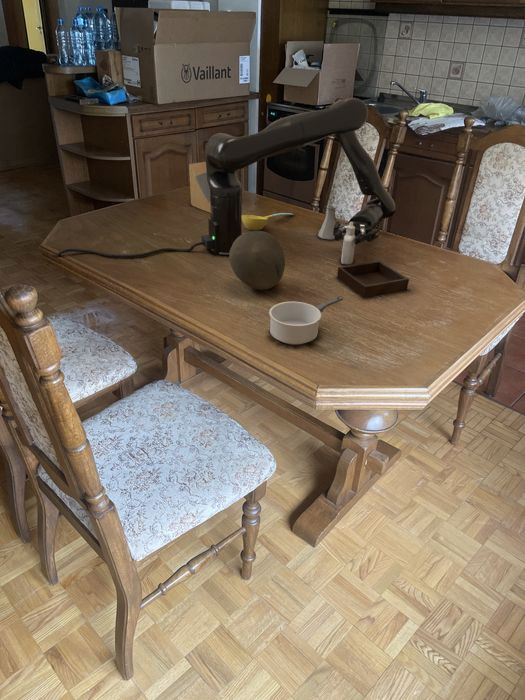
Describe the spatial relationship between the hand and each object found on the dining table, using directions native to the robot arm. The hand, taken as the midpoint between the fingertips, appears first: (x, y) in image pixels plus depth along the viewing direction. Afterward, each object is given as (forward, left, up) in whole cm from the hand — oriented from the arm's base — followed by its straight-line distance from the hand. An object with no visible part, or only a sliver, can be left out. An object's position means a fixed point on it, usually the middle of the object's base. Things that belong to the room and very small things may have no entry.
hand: (346, 239), depth 153 cm
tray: (0, -14, -8) cm, 16 cm away
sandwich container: (-18, +65, -8) cm, 68 cm away
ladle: (-5, +41, -8) cm, 42 cm away
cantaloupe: (-30, -5, -8) cm, 32 cm away
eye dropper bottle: (+2, +2, -8) cm, 8 cm away
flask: (+8, +23, -8) cm, 25 cm away
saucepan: (-28, -30, -8) cm, 42 cm away
